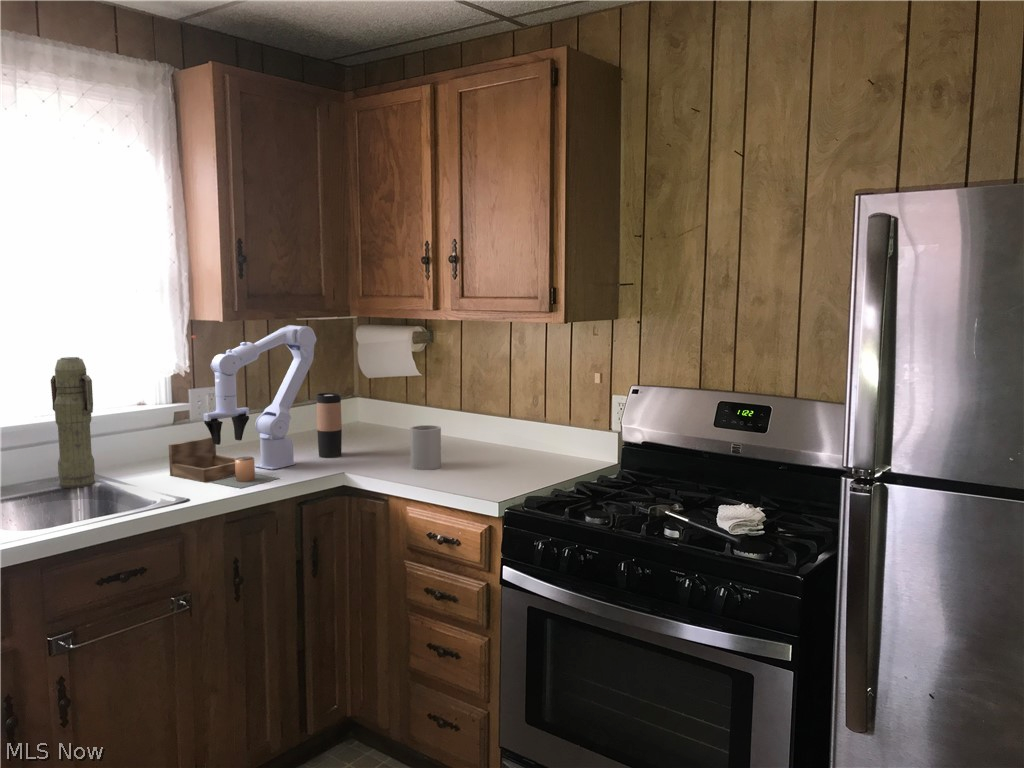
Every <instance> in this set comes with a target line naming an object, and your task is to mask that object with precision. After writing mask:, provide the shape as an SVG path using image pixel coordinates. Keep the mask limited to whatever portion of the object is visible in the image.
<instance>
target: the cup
mask: <svg viewBox="0 0 1024 768" xmlns="http://www.w3.org/2000/svg"><path fill="white" fill-rule="evenodd" d="M409 429H410V438H409V439H410V469H413V470H416V469H417V471H419V470H420V471H432V470H433V471H434V470H438V469H441V467H442V452H441V450H442V439H441V436H442V435H441V434H442V429H441V426H438V425H429V424H427V425H421V424H420V425H414V426H413V425H412V426H411V427H410V428H409Z"/></svg>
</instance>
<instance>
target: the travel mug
mask: <svg viewBox="0 0 1024 768" xmlns="http://www.w3.org/2000/svg"><path fill="white" fill-rule="evenodd" d="M341 395H342V394H341V393H338V392H323V393H322V392H321V393H318V394H316V423H317V424H316V425H317V426H316V429H317V430H316V431H317V446H318V457H319V458H323V459H335V458H338V457H341V456H342V444H343V443H342V438H343V437H342V436H343V433H342V428H343V427H342V397H341Z"/></svg>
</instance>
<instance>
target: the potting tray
mask: <svg viewBox="0 0 1024 768" xmlns="http://www.w3.org/2000/svg"><path fill="white" fill-rule="evenodd" d="M168 456H169V457H168V458H169V461H168V462H169V477H177V478H181V479H184V480H185V479H186V480H191V481H197V482H202V483H206V482H211V481H212V482H213V481H215V480H216V481H217V480H221V479H226V478H230V477H234V476H236V473H235V459H236V458H237V457H236V458H235V457H230V456H225V455H224V456H223V455H217V447H216V444H214V443H213V439H212V436H209V437H204V438H200V439H199V438H198V439H193V440H189V441H182V442H177V443H172V444H168Z"/></svg>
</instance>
